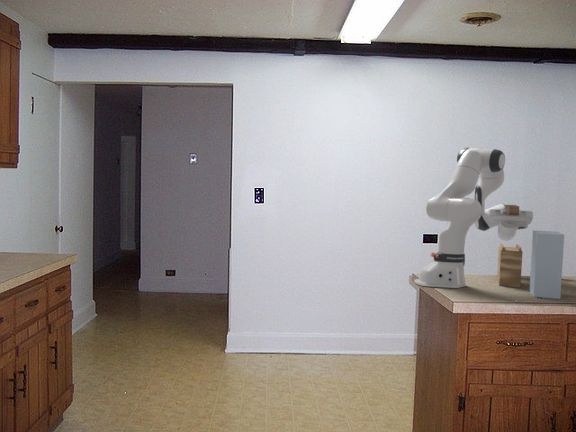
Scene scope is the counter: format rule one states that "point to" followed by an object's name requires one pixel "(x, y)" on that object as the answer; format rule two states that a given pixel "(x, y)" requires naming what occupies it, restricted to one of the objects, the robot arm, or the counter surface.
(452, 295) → the counter surface
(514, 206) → the walnut bar
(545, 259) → the stand
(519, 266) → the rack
